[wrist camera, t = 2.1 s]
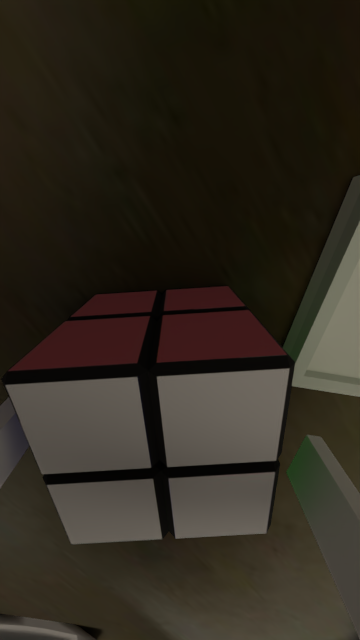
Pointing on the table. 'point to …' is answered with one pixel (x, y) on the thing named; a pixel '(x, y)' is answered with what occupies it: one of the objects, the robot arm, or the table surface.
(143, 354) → the puzzle cube
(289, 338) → the baseplate
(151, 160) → the table surface
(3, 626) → the step stool
